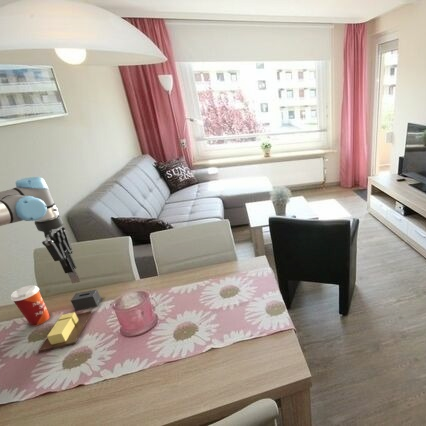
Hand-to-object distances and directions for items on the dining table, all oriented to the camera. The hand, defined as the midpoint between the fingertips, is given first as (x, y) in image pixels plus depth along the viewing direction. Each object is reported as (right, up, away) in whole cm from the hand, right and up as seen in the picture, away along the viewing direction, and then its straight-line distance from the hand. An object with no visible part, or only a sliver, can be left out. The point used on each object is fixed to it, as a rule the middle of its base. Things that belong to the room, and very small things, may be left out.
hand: (70, 270), depth 119 cm
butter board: (+3, -23, -5) cm, 24 cm away
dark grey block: (+1, -17, +8) cm, 19 cm away
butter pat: (+2, -20, -3) cm, 21 cm away
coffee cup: (-13, -21, +1) cm, 25 cm away
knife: (0, -5, +2) cm, 6 cm away
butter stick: (+4, -23, -8) cm, 25 cm away
